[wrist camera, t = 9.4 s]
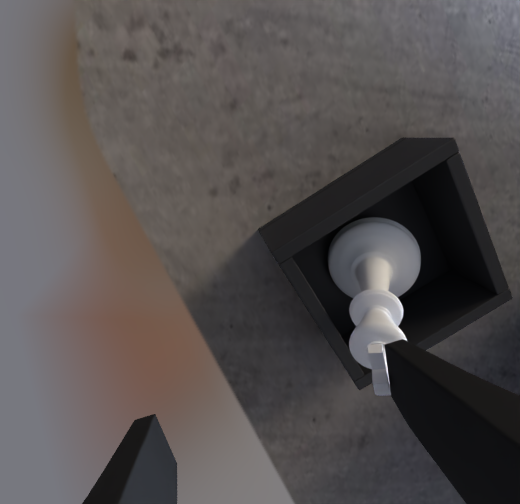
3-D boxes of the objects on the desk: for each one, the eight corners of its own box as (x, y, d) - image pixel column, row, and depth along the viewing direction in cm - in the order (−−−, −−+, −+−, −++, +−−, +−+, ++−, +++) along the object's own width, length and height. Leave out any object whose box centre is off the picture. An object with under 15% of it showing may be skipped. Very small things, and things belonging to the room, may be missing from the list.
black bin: (257, 229, 20) (271, 253, 15) (402, 137, 19) (455, 137, 15) (332, 345, 23) (359, 391, 19) (457, 269, 22) (513, 298, 18)
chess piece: (337, 303, 21) (320, 447, 12) (319, 227, 20) (282, 328, 11) (426, 292, 19) (481, 451, 10) (413, 207, 18) (463, 309, 9)
